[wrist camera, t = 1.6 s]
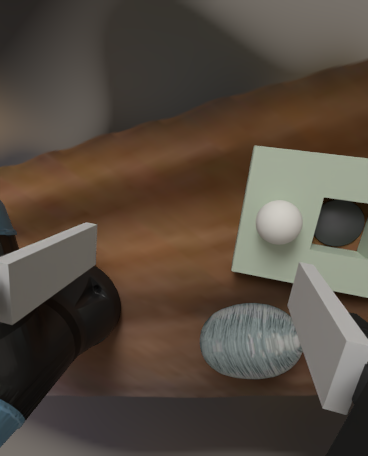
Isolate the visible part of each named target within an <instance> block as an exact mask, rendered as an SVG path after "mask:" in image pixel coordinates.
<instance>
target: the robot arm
mask: <svg viewBox="0 0 368 456" xmlns="http://www.w3.org/2000/svg"><path fill="white" fill-rule="evenodd" d="M15 235H17V232H16V230H14V229H13V227H12V224H11V222H10V219H9V216H8V214H7V211H6V208H5V206H4V204H3V203H2V201H1V200H0V447H1V446H2V445H3V443H5V442H6V441H7V439H8V438H9V437H10V436H11V435H12V434H13V433H14V432H15V431H16V430H17V429H19V428H20V427H21V426H22V425H23V423H24V422H25V420H26V419H27V418H28V417H29V415H30V414H31V413H32V412H33V410H34V409H35V408H36V407H37V406H38V404H39V403H40V402H41V400H42V399H43V398H44V397H45V396H46V394H47V393H48V392H49V391H50V389H51V388H52V387H53V386H54V384H55V383H56V382H57V381H58V379H59V378H60V377H61V376H62V374H63V373H64V372H65V371H66V369H67V368H68V367H69V366H70V364H71V363H72V362H73V361H74V360H75V358H76V357H77V356H78V355H80V354H81V353H83V352H84V351H86V350H88V349H89V348H91V347H92V346H94V345H96V344H98V343H100V342H102V341H103V340H104V339H105V338H106V337H107V336H108V335H109V334H110V333H111V331H112V330H113V329H114V327H115V326H116V324H117V322H118V320H119V317H120V308H121V307H120V299H119V296H118V293H117V290H116V288H115V286H114V285H113V283H112V282H111V280H110V279H109V278H108V277H107V275H106V274H105V273H104V272H102V271H101V270H100V269H99V268H97V267H96V266H94V265H96V241H97V224H92V223H83V224H81V225H78V226H76V227H73V228H71V229H68V230H66V231H63V232H61V233H58V234H56V235H54V236H51V237H49V238H46V239H44V240H41V241H39V242H36V243H34V244H31V245H29V246H26V247H24V248H21V249H19V247H18V244H17V241H16V237H15ZM287 306H288V308H289V311H290V314H291V317H292V320H293V323H294V326H295V329H296V332H297V335H298V338H299V341H300V344H301V347H302V349H303V352H304V355H305V358H306V361H307V364H308V367H309V370H310V373H311V376H312V379H313V382H314V385H315V388H316V390H317V393H318V396H319V399H320V402H321V405H322V408H323V409H326V410H330V411H334V412H338V413H342V414H345V415H347V413H348V410H349V408H350V405H351V403H352V401H353V403H354V406H353V408H352V410H351V412H350V413H349V415H348V417H347V419H346V421H345V422H344V424H343V426H342V428H341V430H340V431H339V433H338V435H337V437H336V438H335V440H334V442H333V444H332V445H331V447H330V449H329V451H328V453H327V454H326V456H368V323H367V322H366V321H365V320H364V319H362V318H361V317H360V316H358V315H357V314H354V313H349V312H348V311H347V310H346V309H345V307H344V306H343V304H342V303H341V302H340V300H339V299H338V298H337V296H336V295H335V293H334V292H333V291H332V289H331V288H330V287H329V285H328V284H327V282H326V281H325V280H324V278H323V277H322V276H321V274H320V273H319V271H318V270H317V269H316V267H315V266H314V265H312V264H307V263H302V262H299V264H298V268H297V272H296V275H295V279H294V283H293V286H292V290H291V294H290V298H289V301H288V305H287Z"/></svg>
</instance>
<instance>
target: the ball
mask: <svg viewBox="0 0 368 456" xmlns="http://www.w3.org/2000/svg"><path fill="white" fill-rule="evenodd" d="M302 226H303V218H302V215H301V213H300V211H299V209H298V208H297V207H296V206H295V205H293V204H292V203H290V202H287V201H284V200H275V201H271V202H269V203H267V204H265V205H264V206H263V207H262V208H261V209H260V210H259V212H258V214H257V216H256V229H257V231H258V233H259V235H260V236H261V237H262V238H263V239H264V240H265V241H267V242H269V243H271V244H277V245H281V244H287V243H289V242H291V241H293V240H294V239H295V238H296V237H297V236H298V235H299V234H300V232H301V230H302Z"/></svg>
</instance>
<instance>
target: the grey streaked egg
mask: <svg viewBox="0 0 368 456" xmlns="http://www.w3.org/2000/svg"><path fill="white" fill-rule="evenodd" d="M200 348H201V352H202V355H203V357H204V359H205V361H206V362H207V363H208V364H209V365H210V367H212V368H213V369H214V370H216V371H217V372H219V373H221V374H223V375H226V376H230V377H234V378H243V379H264V378H270V377H275V376H278V375H280V374H282V373H285V372H286V371H288V370H289V369H290V368H292V367H293V366H294V365H295V364H296V363H297V361H298V360H299V358H300V356H301V354H302V352H303V349H302V347H301V344H300V341H299V338H298V335H297V332H296V329H295V326H294V323H293V320H292V317H290V316H289V315H288V314H287V313H285V312H284V311H282V310H280V309H278V308H276V307H273V306H270V305H266V304H258V303H245V304H238V305H233V306H230V307H227V308H224V309H221V310H219V311H217V312H216V313H214V314H213V315H212V316H211V317H210V318H209V319H208V320H207V321H206V322H205V324H204V326H203V328H202V330H201V335H200Z"/></svg>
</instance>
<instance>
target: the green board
mask: <svg viewBox="0 0 368 456" xmlns="http://www.w3.org/2000/svg"><path fill="white" fill-rule="evenodd" d="M324 197H325V198H332V199H339V200H333V201H330V202H327V203H325V204H323V205H322V203H323V199H324ZM275 200H284V201H287V202H290V203H292V204H293V205H295V206H296V207H297V208H298V209H299V211H300V213H301V215H302V218H303V226H302V230H301V232H300V234H299V235H298V236H297V237H296V238H295V239H294V240H293V241H291V242H289V243H287V244H281V245H277V244H271V243H269V242H267V241H265V240H264V239H263V238H262V237H261V236H260V235H259V233H258V231H257V229H256V216H257V214H258V212H259V210H260V209H261V208H262V207H263V206H264V205H265V204H267V203H269V202H271V201H275ZM349 201H354V202H361V203H368V159H367V158H359V157H350V156H341V155H333V154H324V153H315V152H306V151H298V150H289V149H280V148H272V147H263V146H254V147H253V153H252V158H251V164H250V169H249V174H248V180H247V185H246V190H245V196H244V201H243V206H242V212H241V217H240V223H239V228H238V233H237V239H236V244H235V249H234V255H233V260H232V270H231V271H234V272H239V273H244V274H249V275H254V276H259V277H264V278H269V279H275V280H280V281H285V282H290V283H294V279H295V275H296V272H297V268H298V264H299V262H302V263H307V264H312V265H314V266H315V267H316V269H317V270H318V271H319V273H320V274H321V276H322V277H323V278H324V280H325V281H326V282H327V284H328V285H329V287H330V288H331V289H332V291H336V292H341V293H346V294H351V295H356V296H361V297H366V298H368V218H367V221H366V224H365V227H364V215H363V213H362V211H361V209H360V208H359V207H358V206H357V205H355V204H354V203H352V202H349ZM363 227H364V231H363V234H362V237H361V240H360V243H359V246H358V249H357V251H351V250H345V249H339V248H334V247H328V246H322V245H316V244H311V243H312V240H313V236H314V235H315V236H316V238H317V239H318V240H319V241H321V242H322V243H324V244H326V245H330V246H342V245H346V244H348V243H351V242H352V241H354V240H355V239H356V238H357V237H358V236H359V235H360V234H361V232H362V230H363Z"/></svg>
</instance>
